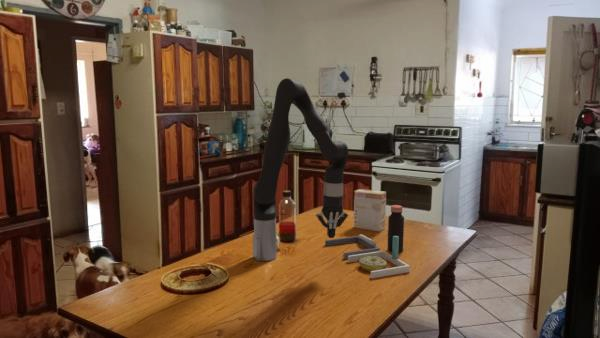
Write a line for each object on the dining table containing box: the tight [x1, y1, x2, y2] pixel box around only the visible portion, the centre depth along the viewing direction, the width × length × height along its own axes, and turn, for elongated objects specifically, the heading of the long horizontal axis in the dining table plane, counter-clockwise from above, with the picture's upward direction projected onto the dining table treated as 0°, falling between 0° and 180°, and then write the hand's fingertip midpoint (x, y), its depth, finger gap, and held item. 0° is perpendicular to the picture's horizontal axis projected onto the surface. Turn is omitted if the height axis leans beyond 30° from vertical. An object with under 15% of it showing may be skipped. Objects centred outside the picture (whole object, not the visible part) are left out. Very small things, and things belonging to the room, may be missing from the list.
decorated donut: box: [358, 256, 388, 273], centre depth 183 cm, size 10×11×4 cm
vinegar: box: [387, 204, 405, 253], centre depth 202 cm, size 7×7×20 cm
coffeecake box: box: [353, 188, 387, 233], centre depth 236 cm, size 15×7×20 cm, turn 58°
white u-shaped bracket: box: [347, 236, 411, 279], centre depth 183 cm, size 18×19×12 cm
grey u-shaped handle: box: [324, 233, 381, 260], centre depth 204 cm, size 18×19×4 cm
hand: (330, 237), depth 178 cm, fingers closed
